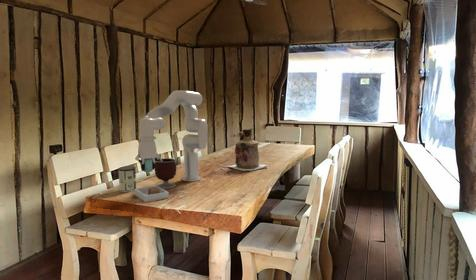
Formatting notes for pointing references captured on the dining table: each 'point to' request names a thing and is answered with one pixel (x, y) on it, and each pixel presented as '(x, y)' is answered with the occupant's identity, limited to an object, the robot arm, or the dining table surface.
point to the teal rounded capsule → (148, 165)
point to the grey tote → (144, 196)
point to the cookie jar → (247, 152)
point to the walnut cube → (153, 190)
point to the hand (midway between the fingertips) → (148, 169)
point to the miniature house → (127, 178)
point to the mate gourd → (165, 171)
